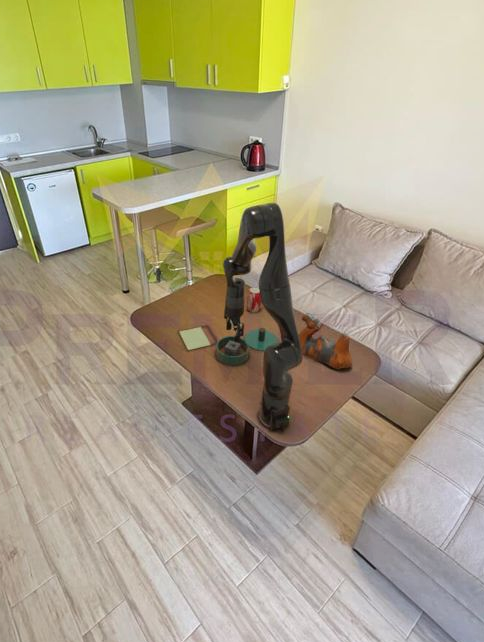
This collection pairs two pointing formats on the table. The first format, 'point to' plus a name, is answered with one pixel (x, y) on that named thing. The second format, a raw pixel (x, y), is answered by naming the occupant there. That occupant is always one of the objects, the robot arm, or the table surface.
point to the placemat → (194, 338)
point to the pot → (231, 359)
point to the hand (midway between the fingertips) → (232, 335)
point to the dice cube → (232, 348)
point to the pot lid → (260, 339)
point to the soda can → (254, 300)
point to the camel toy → (324, 345)
